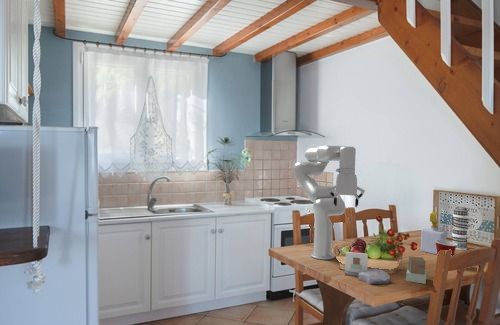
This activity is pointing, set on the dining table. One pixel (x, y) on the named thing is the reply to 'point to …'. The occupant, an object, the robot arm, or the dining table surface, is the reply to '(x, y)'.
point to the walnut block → (416, 265)
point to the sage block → (416, 277)
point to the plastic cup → (445, 245)
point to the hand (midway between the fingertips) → (345, 206)
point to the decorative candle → (460, 227)
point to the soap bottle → (431, 236)
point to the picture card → (355, 263)
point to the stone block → (374, 276)
